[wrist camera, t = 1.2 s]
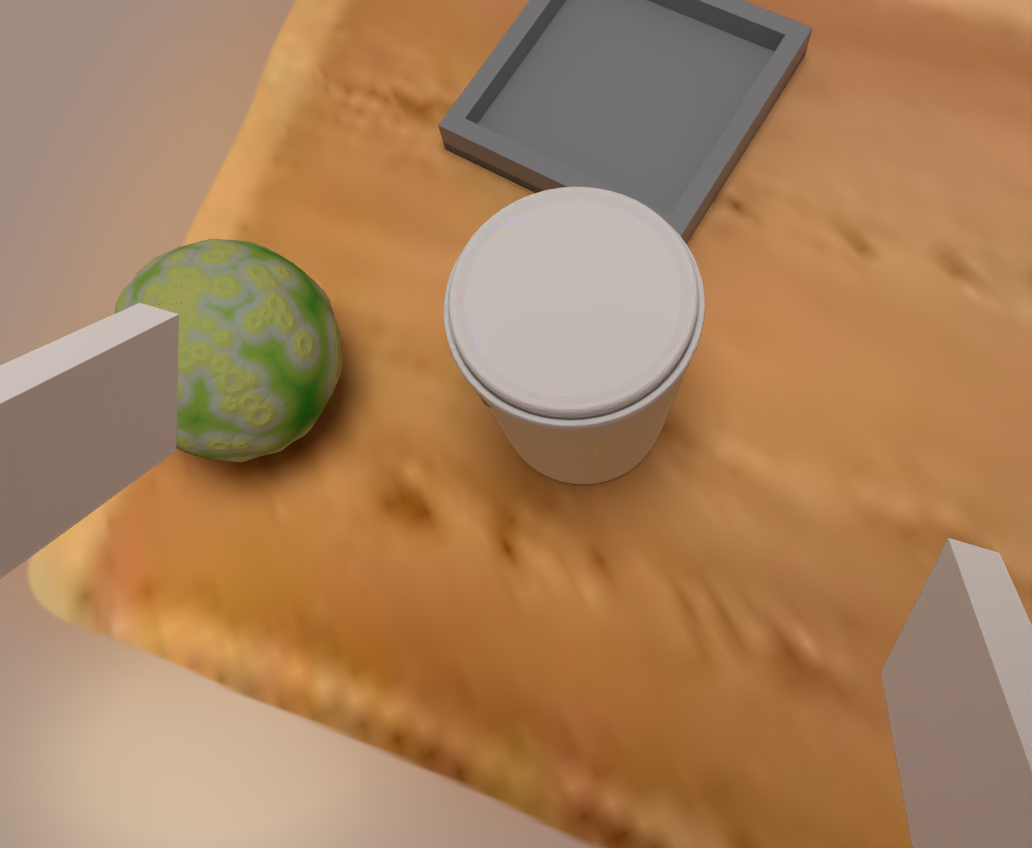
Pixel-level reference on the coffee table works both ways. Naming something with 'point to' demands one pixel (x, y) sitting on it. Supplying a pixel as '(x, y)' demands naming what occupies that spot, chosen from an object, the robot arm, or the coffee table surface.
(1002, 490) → the coffee table surface
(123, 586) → the coffee table surface
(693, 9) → the tray
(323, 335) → the decorative ball
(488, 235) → the coffee cup
